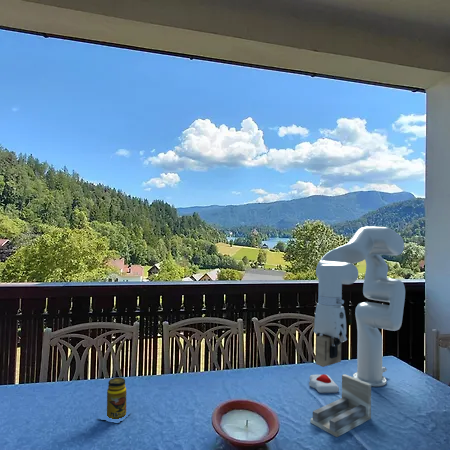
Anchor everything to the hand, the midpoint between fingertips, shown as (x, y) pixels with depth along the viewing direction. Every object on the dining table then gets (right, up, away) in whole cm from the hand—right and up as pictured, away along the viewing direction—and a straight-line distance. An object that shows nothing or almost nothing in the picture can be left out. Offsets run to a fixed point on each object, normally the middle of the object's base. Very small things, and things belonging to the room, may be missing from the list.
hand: (329, 355), depth 122 cm
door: (0, -3, 0) cm, 3 cm away
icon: (+3, -20, +21) cm, 29 cm away
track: (+3, -20, -4) cm, 20 cm away
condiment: (-71, -19, -3) cm, 73 cm away
